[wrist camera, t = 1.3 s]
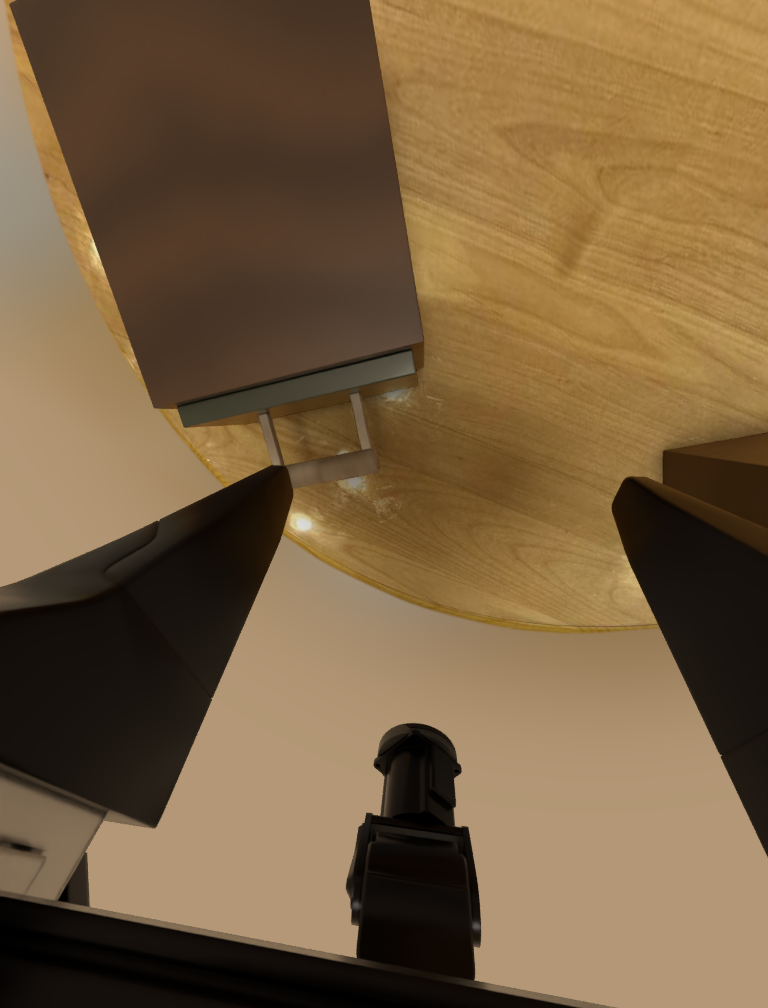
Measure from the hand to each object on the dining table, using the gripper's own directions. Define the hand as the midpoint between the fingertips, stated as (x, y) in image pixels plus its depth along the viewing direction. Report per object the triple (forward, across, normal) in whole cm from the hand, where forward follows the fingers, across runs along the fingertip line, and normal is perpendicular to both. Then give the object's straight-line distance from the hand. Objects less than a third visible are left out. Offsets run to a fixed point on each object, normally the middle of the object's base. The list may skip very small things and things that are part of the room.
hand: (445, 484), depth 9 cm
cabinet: (+20, +10, -4) cm, 23 cm away
